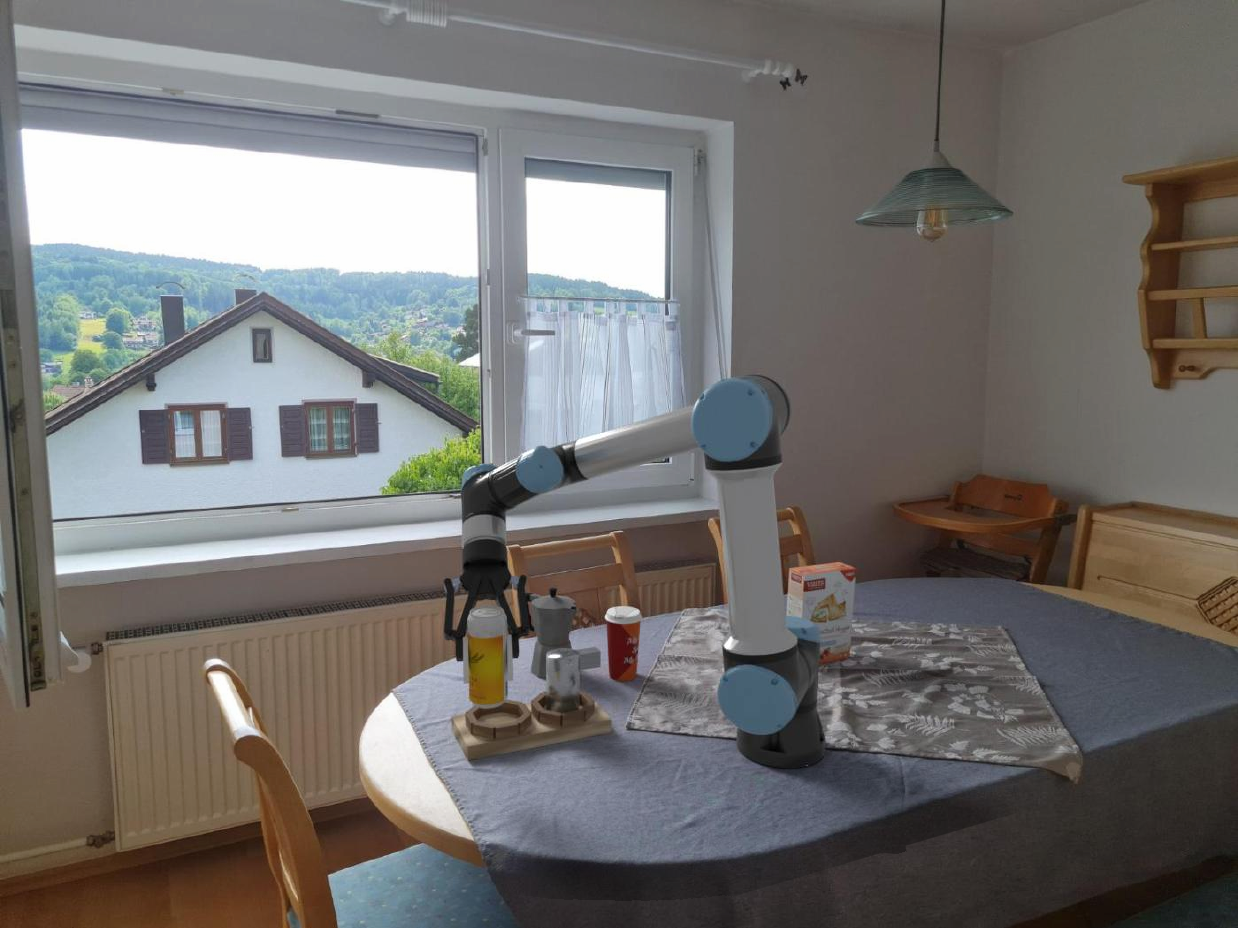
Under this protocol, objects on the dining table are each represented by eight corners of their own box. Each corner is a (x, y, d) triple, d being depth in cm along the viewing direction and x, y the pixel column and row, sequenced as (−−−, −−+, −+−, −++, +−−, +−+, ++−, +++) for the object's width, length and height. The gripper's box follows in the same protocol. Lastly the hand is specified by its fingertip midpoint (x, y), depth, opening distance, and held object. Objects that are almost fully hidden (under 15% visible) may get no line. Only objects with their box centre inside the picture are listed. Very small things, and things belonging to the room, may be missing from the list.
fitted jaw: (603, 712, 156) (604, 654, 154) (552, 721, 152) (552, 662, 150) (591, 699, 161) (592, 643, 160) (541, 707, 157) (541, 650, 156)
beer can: (470, 693, 139) (468, 605, 137) (508, 692, 140) (507, 604, 137) (467, 710, 133) (465, 617, 131) (507, 709, 134) (505, 617, 132)
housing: (611, 732, 154) (611, 708, 153) (467, 760, 143) (467, 735, 143) (586, 705, 165) (586, 682, 164) (451, 729, 154) (451, 705, 153)
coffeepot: (591, 670, 181) (592, 588, 178) (563, 685, 173) (563, 599, 170) (536, 653, 190) (535, 575, 187) (506, 667, 182) (505, 585, 179)
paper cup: (637, 685, 174) (638, 618, 172) (600, 681, 175) (601, 615, 173) (644, 670, 181) (645, 606, 179) (608, 666, 183) (609, 603, 181)
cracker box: (799, 669, 183) (804, 574, 179) (782, 659, 188) (787, 567, 185) (851, 659, 188) (857, 567, 185) (834, 649, 194) (839, 560, 190)
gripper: (539, 556, 150) (548, 683, 137) (428, 561, 147) (426, 691, 134) (542, 534, 144) (551, 665, 131) (425, 538, 141) (423, 673, 128)
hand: (488, 678), depth 132 cm, fingers closed on beer can, 6 cm apart
